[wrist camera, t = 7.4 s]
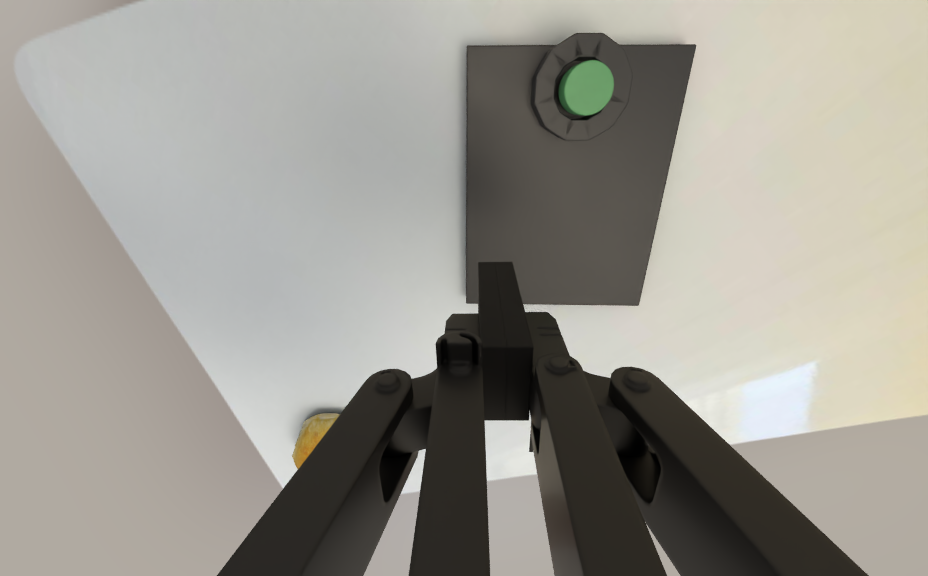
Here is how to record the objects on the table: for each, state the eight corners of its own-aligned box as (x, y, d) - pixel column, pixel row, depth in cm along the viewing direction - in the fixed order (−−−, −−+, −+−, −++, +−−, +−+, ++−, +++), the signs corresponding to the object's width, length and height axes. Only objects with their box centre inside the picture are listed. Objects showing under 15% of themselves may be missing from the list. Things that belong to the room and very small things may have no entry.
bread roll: (375, 476, 42) (366, 511, 38) (295, 454, 41) (278, 487, 37) (397, 425, 39) (389, 457, 35) (310, 398, 38) (292, 429, 34)
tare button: (560, 63, 23) (567, 59, 21) (608, 62, 22) (618, 59, 21) (555, 115, 24) (561, 115, 22) (601, 115, 24) (610, 115, 22)
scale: (467, 41, 24) (466, 33, 22) (688, 40, 24) (715, 32, 21) (466, 297, 32) (465, 314, 30) (633, 299, 32) (648, 316, 29)
